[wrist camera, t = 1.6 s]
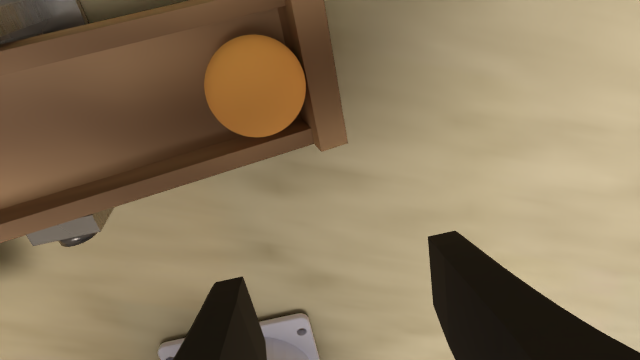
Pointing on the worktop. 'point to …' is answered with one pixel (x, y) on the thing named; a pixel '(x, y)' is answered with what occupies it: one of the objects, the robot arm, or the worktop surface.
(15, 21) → the pivot bracket
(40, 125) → the tilt board
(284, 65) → the ball
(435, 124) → the worktop surface
